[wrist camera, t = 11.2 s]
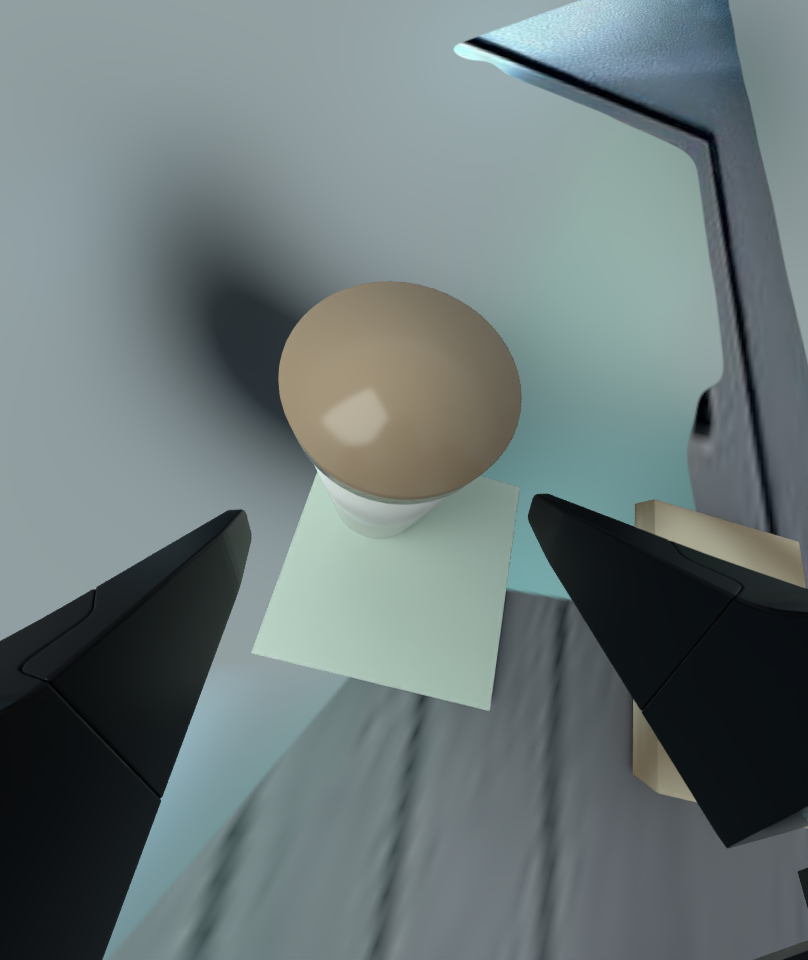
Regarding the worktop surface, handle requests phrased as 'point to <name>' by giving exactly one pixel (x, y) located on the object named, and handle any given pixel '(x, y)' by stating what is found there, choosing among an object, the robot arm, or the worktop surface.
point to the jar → (397, 400)
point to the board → (725, 544)
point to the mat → (399, 596)
